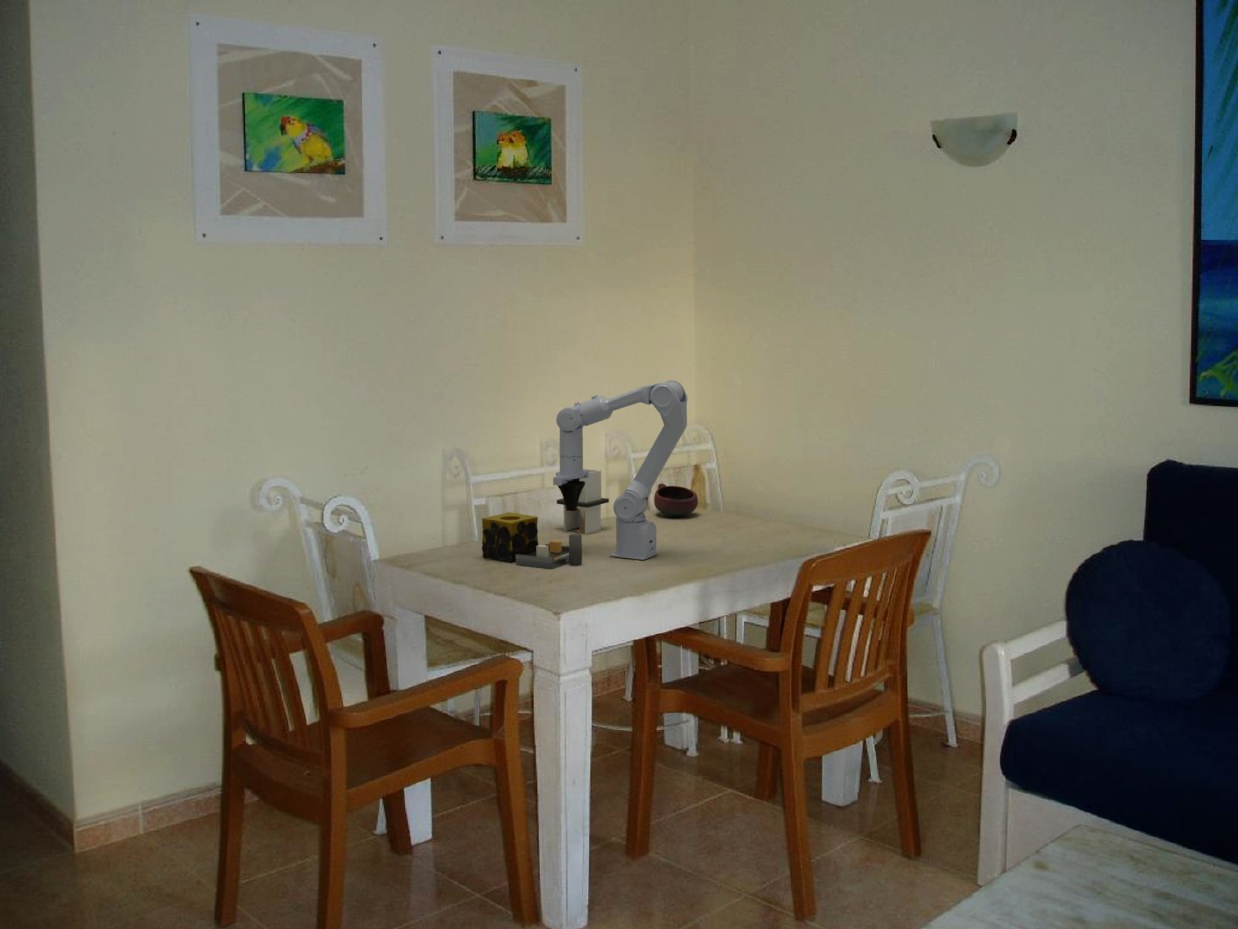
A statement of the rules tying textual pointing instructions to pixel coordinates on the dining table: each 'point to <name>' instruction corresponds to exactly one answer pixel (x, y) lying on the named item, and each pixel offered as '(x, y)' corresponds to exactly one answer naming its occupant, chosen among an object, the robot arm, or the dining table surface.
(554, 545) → the tan rectangular prism
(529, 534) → the candle
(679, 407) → the robot arm
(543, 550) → the upright cream block
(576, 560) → the post
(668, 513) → the bowl
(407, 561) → the dining table surface
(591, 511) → the model fireplace
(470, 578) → the dining table surface
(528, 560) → the grey tray
